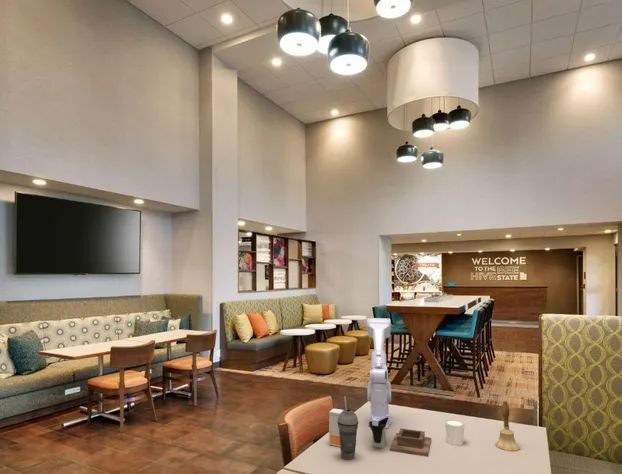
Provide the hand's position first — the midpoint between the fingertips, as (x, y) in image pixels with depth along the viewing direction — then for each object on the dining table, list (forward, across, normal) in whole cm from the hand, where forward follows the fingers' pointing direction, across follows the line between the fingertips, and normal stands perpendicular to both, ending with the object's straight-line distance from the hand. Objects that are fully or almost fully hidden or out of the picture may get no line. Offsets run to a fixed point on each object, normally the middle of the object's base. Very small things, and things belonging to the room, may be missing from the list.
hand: (379, 439), depth 153 cm
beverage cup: (+2, -14, +8) cm, 16 cm away
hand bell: (+2, +16, -44) cm, 47 cm away
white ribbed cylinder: (+2, +13, -26) cm, 29 cm away
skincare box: (+2, -5, +14) cm, 15 cm away
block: (+2, 0, 0) cm, 2 cm away
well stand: (+2, +4, -11) cm, 12 cm away
